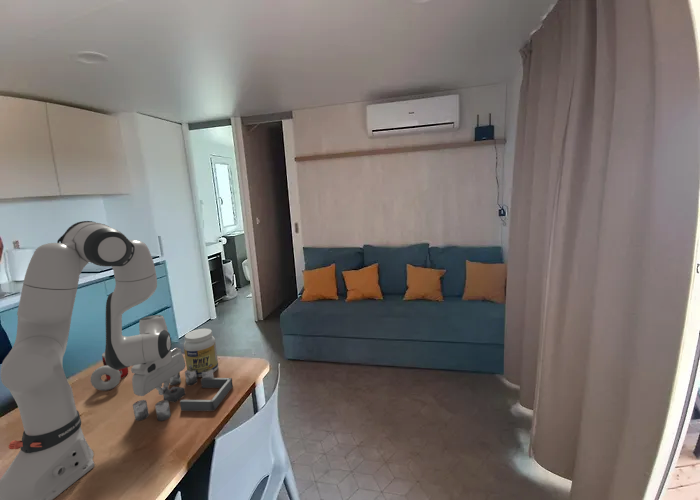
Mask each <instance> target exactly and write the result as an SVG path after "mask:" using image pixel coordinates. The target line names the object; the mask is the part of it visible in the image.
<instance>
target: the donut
mask: <svg viewBox="0 0 700 500" xmlns="http://www.w3.org/2000/svg"><path fill="white" fill-rule="evenodd" d="M106 374H107V375H109V376H110V377H111V379H110V380H107V381H105V380H103V379H102V377H103V376H104V375H106ZM121 379H122V378H121V374H120V372H119V370H115V369H113V368H111V367H109V366H108V365H107V366H104V365H102V366H99V367H98V368H96V369H95V370H94V371H93V372H92V373H91V376H90V383H91V386H92V387H93V388H94V389H96V390H98V391H101V392H102V391H103V392H104V391H110V390H112V389H114V388H116V387H117V386H118V385H119V383H120V382H121Z"/></svg>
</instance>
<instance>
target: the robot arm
mask: <svg viewBox="0 0 700 500" xmlns="http://www.w3.org/2000/svg"><path fill="white" fill-rule="evenodd" d="M89 263H91V264H93V265H96V266H97V267H98V266H99V267H111V269H112V270H113V275H114V280H115V281H114V282H115V287H114V290H113V291H112V292H111V293H109V294H108V296H107V299H106V302H105V303H106V304H105V349H104V352H105V362H106V364H107V365H108V366H109V367H111V368H113V369H115V370H120V369H123V368H127V367H128V368H129V367H131V370H130V371H131V373H132V374H133V375H132V378H131V380H132V382H131V383H132V391H133V394H134V395H136V396H139V397H144V396H146V395H148V394H149V393H150V392H152V391H153V390H157V392H158V395H161V396H163V394H164V393H165V392H167V391H168V390H169V389H170V387H169V385H170V378H171V377H173V376H174V375H176V374H177V373H179V372H182V371H183V370H185V368H186V360H185V357H184V355H183V353H182V352H183V351H182V349H181V348H180V347H175V348H173V349H172V339H171V333H170V332H169V331H168V325H167V323H166V320H165V318H164V316H163V315H161V314H155V315H148V316H145V317H142V318H141V319H139V322H138V323H139V325H138V326H139V327H138V328H139V329H138V330H139V334H136V335H129V336H127V335H126V336H125V335H123V331H122V330H123V319H122V318H123V315H124V313H125V312H127V311H128V310H130V309H132V308H134V307H135V306H138V305H140V304H143V303H144V302H145V301H147V300H149V299H150V298H151V297H152V296H153V295H154V294H155V292H156V290H157V288H158V277H157V271H156V266H155V263H154V260H153V257H152V254H151V252H150V249H149V246H148V245H147V244H146V243H145V242H143V241H140V240H138V239H128V238H127V236H126V235H125V234H124V233H123V232H121V231H119V230H118V229H115V228H112V227H111V226H109V225H107V224H104V223H100V222H96V221H93V220H83V221H79V222H75V223H72V225H71V226H69V227H68V228H67V229H66V231H65V232H64V233H63V234H62V235H61V236H60V237H59V238H58V240H57V242H50V243H48V242H47V243H45V244H41V245H39V246H38V247H37V248H36V249H35V251H34V252H33V255H32V257H30V261H29V263H28V265H27V269H26V271H25V275H24V279H23V282H22V287H21V288H22V289H21V293H20V298H19V303H18V307H17V311H16V312H17V313H16V315H17V328H16V335H15V341H14V344H13V346H12V348H10V349H11V350H10V351H9V352H8V354H7V355H6V356H5V357H4V359H3V360H2V364H1V368H0V380H1V383H2V385H3V386H4V387H6V388H7V389H8V391H9V393H10V394H11V396H12V397H13V399H14V401H15V403H16V405H17V408H18V411H19V415H20V419H21V423H22V427H23V432H22V436H21V440H11V441H10V442H9V445H8V449H9V450H20V451H19V452H18V453H17V455H16V456H15V458H14V459H13V461H12V462H11V463H10V465H9V467H8V468H7V469H6V470H5V472H4V474H2V475H1V477H0V500H54V499H55V498H56V497H59V495H60V494H61V493H63V492H64V491H65V490H66V489H68V488H69V487H70V486H72V485H73V484H74V483H75V482H77V481H78V480H79V479H80V478H82V477H83V476H84V475H85V474H87V473H88V472H89V471H91V470H92V469H93V468H94V467H95V466H96V465H95V464H96V463H95V462H94V460H93V459H94V451H93V449H92V448H91V447H90V445H89V444H88V441H87V440H86V437H85V435H84V433H83V432H84V431H83V430H82V427H81V426H82V418H81V415H80V411H79V410H78V409H77V406H76V402H75V396H74V392H73V388H72V386H71V384H69V381H68V379H67V377H66V374H65V370H64V367H63V361H64V360H63V359H64V356H65V353H66V351H67V347H68V341H69V335H70V330H71V325H72V316H73V310H74V306H75V301H76V297H77V291H78V287H79V281H80V275H81V273H82V272H83V270H84V268H85V267H86V266H87V265H88V264H89Z"/></svg>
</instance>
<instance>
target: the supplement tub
mask: <svg viewBox="0 0 700 500" xmlns="http://www.w3.org/2000/svg"><path fill="white" fill-rule="evenodd" d="M183 351H184V352H183V353H184V360H185V367H186V370H188V369H196V374H197V378H202V371H203V370H205V369H209V368H211V369H213V374H214V373H215V372H216V371H217V370H218V369H219V362H218V361H219V360H218V354H217V353H218V352H217V344H216V338H215V337H214V336H213V331H212V329H211V328H198V329H197V328H196V329H194V330H192V331H189V332H187V333H186V334H185V335H184V343H183Z"/></svg>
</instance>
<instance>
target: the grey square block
mask: <svg viewBox="0 0 700 500" xmlns="http://www.w3.org/2000/svg"><path fill="white" fill-rule="evenodd" d="M162 396H163V397H162V398H163V400H168V401H169V403H177V402H178V401H180V400H182V398H184V396H186V390H185V387H181V386H172V387H171V388H169V390H168V391H167V392H165V393H164V394H163V395H162Z"/></svg>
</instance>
